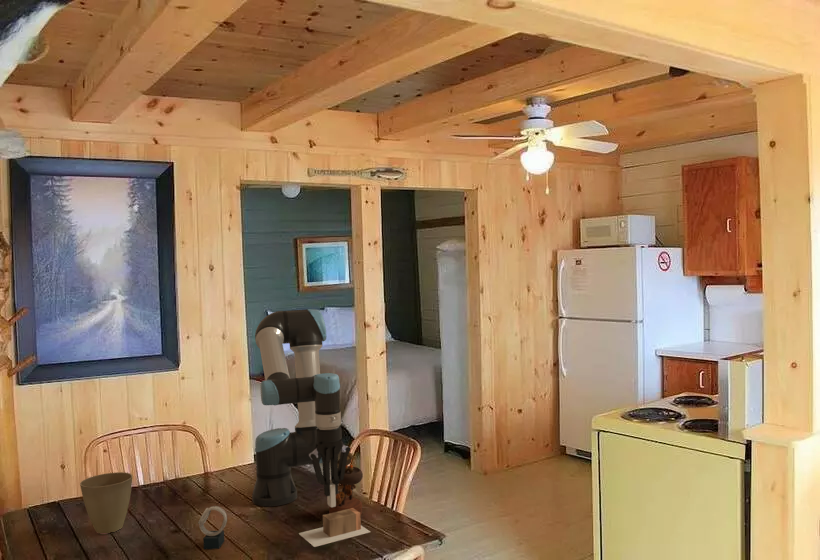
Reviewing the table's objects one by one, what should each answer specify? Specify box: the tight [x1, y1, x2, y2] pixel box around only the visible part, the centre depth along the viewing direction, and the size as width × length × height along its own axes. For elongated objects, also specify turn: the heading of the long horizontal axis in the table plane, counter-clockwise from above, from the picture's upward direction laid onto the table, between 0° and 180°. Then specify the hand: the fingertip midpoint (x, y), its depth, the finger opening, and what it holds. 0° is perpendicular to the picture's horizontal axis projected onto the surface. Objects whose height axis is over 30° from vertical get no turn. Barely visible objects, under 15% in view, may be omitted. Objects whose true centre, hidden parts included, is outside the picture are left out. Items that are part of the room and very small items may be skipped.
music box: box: [328, 452, 364, 517], centre depth 217 cm, size 15×11×20 cm
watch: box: [198, 505, 228, 550], centre depth 197 cm, size 6×8×11 cm
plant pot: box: [79, 471, 133, 533], centre depth 212 cm, size 15×15×16 cm
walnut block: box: [322, 508, 362, 537], centre depth 203 cm, size 5×5×10 cm
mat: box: [298, 524, 371, 548], centre depth 202 cm, size 12×18×1 cm, turn 121°
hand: (331, 505), depth 202 cm, fingers closed
